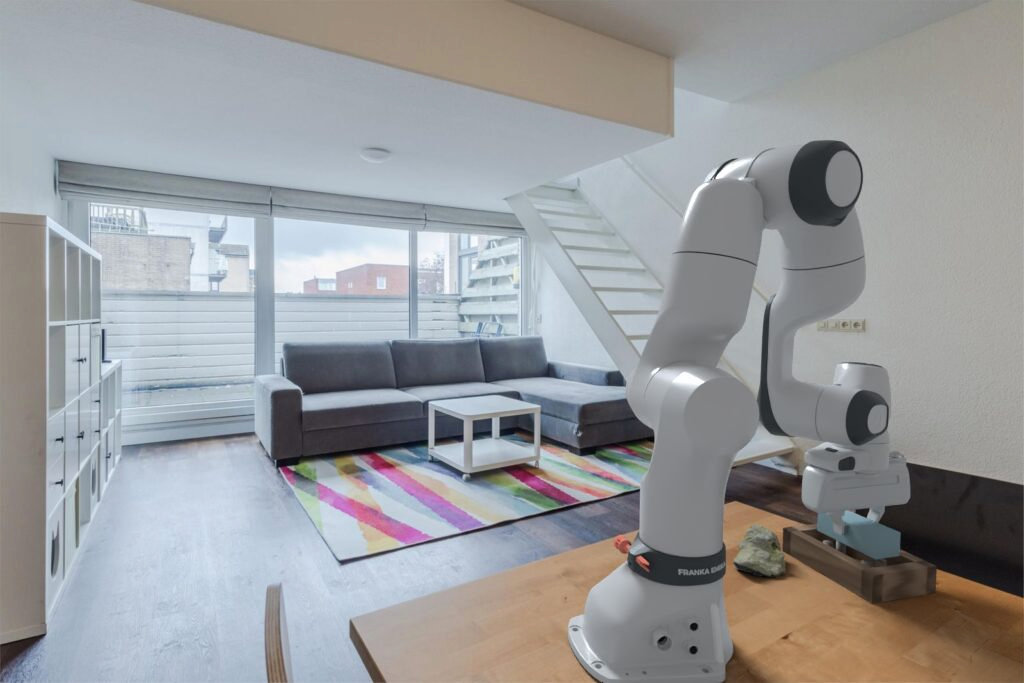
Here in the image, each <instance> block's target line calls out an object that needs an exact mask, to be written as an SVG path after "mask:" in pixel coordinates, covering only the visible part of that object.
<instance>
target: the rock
mask: <svg viewBox="0 0 1024 683" xmlns="http://www.w3.org/2000/svg"><path fill="white" fill-rule="evenodd" d="M737 547H738V549H739V552H738V553H737V554H736V556H735V558H734V559H733V563H732V564H733V565H734V567H735V568H736V569H737V570H741V571H743V572H747V573H750V575H752V576H754V575H755V577H765V578H778V577H780V576H782V575H784V574H785V573H786V560H785V556H786V555H785V552H783V551H782V548H781V543H780V541H779V538H778V535H777V534H776V533H775V532H773V531H772V530H771V529H769V528H766V527H764V526H763V525H761V524H751V525H750V526H749V527H748V528H747V530H746V532H745V535H744V537H743V539H741V541H739V542H738V544H737Z"/></svg>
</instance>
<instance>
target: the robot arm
mask: <svg viewBox="0 0 1024 683" xmlns="http://www.w3.org/2000/svg"><path fill="white" fill-rule="evenodd" d="M861 162H862V161H861V159H860V157H859V156H858V154H857V153H856V152H855V150H853V149H852V148H851V147H850V146H849V145H848V144H847V143H846V142H844V141H841V140H833V139H821V140H812V141H809V142H807V143H806V144H803V143H801V144H795V145H788V146H781V147H776V148H775V147H772V148H767V149H763V150H759V151H756V152H752V153H750V154H747V155H744V156H741V157H737V158H735V157H734V158H731V159H729V160H726V161H724V162H722V163H720V164H718V165H717V166H715V167H714V168H713V169H712V170H710V172H708V174H707V176H705V178H704V180H703V183H702V184H700V185H699V186H697V188H696V189H695V190H694V191H693V192H692V194H691V196H690V199H689V200H688V203H687V205H686V208H685V210H684V212H683V216H682V218H681V220H680V224H679V226H678V230H677V232H676V237H675V241H674V244H673V248H672V253H671V257H670V262H669V265H668V271H667V276H666V279H665V284H664V289H663V294H662V298H661V302H660V307H659V310H658V313H657V316H656V318H655V321H654V324H653V326H652V329H651V332H650V333H649V336H648V338H647V341H646V343H645V345H644V347H643V350H642V353H641V355H640V357H639V360H638V363H637V364H636V366H635V367H634V369H632V371H631V372H630V374H628V375H629V376H628V377H627V379H626V382H625V384H626V385H625V397H626V400H627V403H628V405H629V407H630V409H631V411H632V412H633V414H634V415H635V416H636V418H637V419H638V421H640V422H641V423H642V424H643V425H645V426H646V427H648V428H649V429H651V430H653V433H654V434H653V435H654V444H653V450H652V453H651V454H652V455H651V458H650V461H649V465H648V469H647V471H646V472H645V474H643V476H642V477H641V480H640V485H639V487H640V488H639V529H638V532H637V534H636V536H635V537H634V540H633V542H631V541H630V540H628V539H627V538H626V536H625V535H623V534H619V535H617V536H616V537H615V538H614V540H613V546H614V547H615V548H616V549H617V550H618V551H619V553H621V554H625V555H627V557H626V561H624V562H623V563H622V564H621V565H619V566H618V567H617V568H615V569H614V570H613V571H611V573H609V574H608V575H607V576H606V577H604V578H603V579H602V580H601V581H599V582H598V583H596V584H595V585H594V586H593V587H591V589H590V590H589V592H588V595H587V597H586V601H585V606H584V612H583V613H582V614H580V615H576V616H574V617H570V619H569V622H568V625H567V638H568V642H569V646H570V647H571V649H572V651H573V654H574V655H575V657H576V658H577V660H578V662H579V663H580V664H581V666H583V668H584V669H585V670H586V671H587V672H588V673H589V674H590V675H591V676H592V677H594V678H595V679H596V680H597V681H599V682H601V683H602V682H603V683H723V682H724V681H725V680H726V676H727V675H726V674H727V673H726V667H727V664H728V662H729V661H730V660H731V659H732V657H733V654H734V645H733V641H732V637H731V632H730V629H729V624H728V620H727V619H728V618H727V614H726V606H725V605H726V604H725V594H724V577H725V575H726V573H727V545H726V543H725V542H724V541H723V540H724V520H725V519H724V517H725V499H726V498H725V497H726V496H725V495H726V489H727V485H728V484H727V483H728V480H729V476H730V475H731V474H730V473H731V470H732V467H733V464H734V461H735V459H736V457H737V454H738V453H739V452H740V451H741V450H743V449H744V448H746V447H747V446H748V445H749V443H750V442H751V441H752V439H753V438H754V436H755V435H756V432H757V430H758V427H759V424H761V425H762V426H763V427H764V429H765V430H766V431H767V432H768V433H769V434H770V435H773V436H778V437H790V438H800V439H804V440H805V439H806V440H812V441H817V442H823V443H821V444H818V445H817V446H815V447H812V448H810V449H808V450H806V451H805V452H804V463H807V464H809V465H806V467H805V468H804V470H803V474H802V481H801V482H802V483H801V500H802V503H803V505H804V506H805V507H806V509H809V510H811V511H812V512H815V513H817V514H818V513H829V515H830V517H831V519H832V521H833V522H834V526H833V530H834V532H835V533H837V534H839V535H844V534H848V532H849V531H848V529H849V525H848V524H846V523H844V521H843V519H842V516H845V511H846V510H848V511H855V510H863V509H869V511H868V513H867V516H866V518H867V519H870V520H872V521H874V522H877V523H879V522H880V520H881V518H882V517H883V515H884V513H885V511H886V510H885V507H888V506H890V507H891V506H898V505H905V504H907V503H908V502H909V500H910V498H911V482H910V481H911V480H910V472H909V469H908V467H907V459H906V457H905V456H904V455H903V454H902V453H901V452H900V451H897V450H892V451H891V450H890V448H891V437H890V434H889V429H888V428H889V422H890V420H891V416H892V392H891V382H890V377H889V373H888V370H887V369H886V368H885V367H884V366H882V365H879V364H874V363H866V362H858V361H857V362H856V361H845V362H844V361H843V362H840V363H838V364H837V365H836V366H835V370H834V374H833V380H832V384H831V383H829V384H826V383H825V384H824V383H815V382H808V381H807V382H806V381H800V380H798V379H797V378H795V377H794V376H793V358H794V345H795V344H794V343H795V336H796V333H797V331H798V330H799V329H801V328H804V327H806V326H809V325H812V324H815V323H818V322H821V321H823V320H827V319H829V318H831V317H833V316H836V315H838V314H840V313H842V312H843V311H845V310H846V309H848V308H849V307H851V306H852V305H853V304H854V303H855V302H856V301H858V299H859V298H860V296H861V294H862V293H863V292H864V289H865V288H866V287H865V285H866V278H867V266H866V255H865V254H866V253H865V246H864V245H865V244H864V240H863V239H864V238H863V233H862V228H861V224H860V220H859V217H858V213H857V209H856V204H857V202H858V200H859V199H860V195H861V192H862V189H863V183H864V173H863V172H864V171H863V166H862V163H861ZM764 230H777V231H778V233H779V255H780V264H781V279H780V285H779V288H778V290H777V292H776V293H774V294H773V295H771V296H770V297H769V298H768V300H767V302H766V305H765V308H764V313H763V319H762V320H763V323H762V332H761V333H762V334H761V354H760V355H761V356H760V375H759V377H760V380H759V386H758V387H759V388H758V391H757V397H756V396H755V394H754V393H753V391H752V390H751V388H749V387H748V386H747V385H746V384H745V383H743V382H742V381H741V380H739V379H738V378H737V377H735V376H734V375H732V374H731V373H729V372H728V371H726V370H724V369H721V368H719V367H717V366H718V364H719V362H720V360H721V357H722V356H723V354H724V351H725V350H726V348H727V346H728V345H729V343H730V341H731V340H732V339H733V338H734V337H735V336H736V335H737V334H738V333H739V332H741V330H742V329H743V327H744V325H745V323H746V320H747V314H748V310H749V308H750V307H749V306H750V302H751V297H752V292H753V286H754V283H755V278H756V275H757V274H756V273H757V270H758V264H759V260H760V259H759V258H760V256H761V255H760V254H761V247H762V239H763V231H764Z"/></svg>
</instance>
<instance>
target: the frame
mask: <svg viewBox="0 0 1024 683" xmlns="http://www.w3.org/2000/svg"><path fill="white" fill-rule="evenodd" d="M781 552H783V553H784V554H787V555H789V556H790V557H792V558H794V559H795V560H797V561H799V562H801V563H803V564H804V565H806V566H807V567H809V568H810V569H813V570H814V571H816V572H818V573H819V574H820V575H823V576H824V577H826V578H827V579H830V580H831V581H833V582H834V583H836V584H838V585H839V586H841V587H843V588H845V589H847V590H848V591H850V592H851V593H854V594H855V595H857V596H859V597H860V598H861V599H863V600H865V601H867V602H869V603H870V604H876V603H878V604H879V603H883V602H887V601H889V602H890V601H895V600H902V599H907V598H912V597H918V596H925V595H929V594H930V595H931V594H936V590H937V588H936V587H937V570H938V566H937V565H935V564H934V563H932V562H930V561H927V560H925V559H923V558H920V557H918V556H916V555H913V554H912V553H909V552H907V551H905V550H903V549H901V548H900V556H896V557H889V558H882V559H874V558H872V557H870V556H868V555H866V554H864V553H862V552H860V551H858V550H856V549H854V548H851V547H849V546H847V545H845V544H843V543H841V542H839V541H837V540H835V539H833V538H831V537H829V536H827V535H825V534H823V533H821V532H819V531H817V523H813V524H812V523H811V524H803V525H797V526H787V527H782V548H781Z"/></svg>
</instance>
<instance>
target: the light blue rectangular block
mask: <svg viewBox="0 0 1024 683" xmlns="http://www.w3.org/2000/svg"><path fill="white" fill-rule="evenodd" d="M842 519H843V521H844V523H846V524H848V525H849V529H848V531H849V532H848V534H844V535H839V534H837V533H835V532H834V530H833V526H834V522H833V521H832V519H831V517H830V515H829V513H817V523H816V524H817V531H819V532H821V533H823V534H825V535H827V536H829V537H831V538H833V539H835V540H837V541H839V542H841V543H843V544H845V545H847V546H849V547H851V548H854V549H856V550H858V551H860V552H862V553H864V554H866V555H868V556H870V557H872V558H874V559H882V558H889V557H896V556H900V549H901V535H902V534H901V532H900V531H898V530H896V529H893V528H891V527H888V526H886V525H884V524H881V523H879V522H878V523H877V522H874V521H872V520H870V519H867V517H865V516H862V515H861V514H858V513H855V512H852V510H846V511H845V516H842Z"/></svg>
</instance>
